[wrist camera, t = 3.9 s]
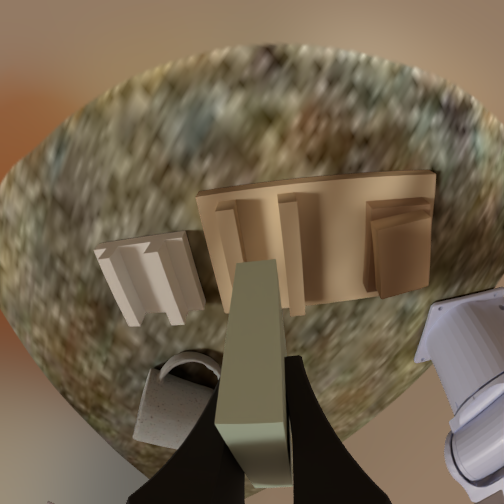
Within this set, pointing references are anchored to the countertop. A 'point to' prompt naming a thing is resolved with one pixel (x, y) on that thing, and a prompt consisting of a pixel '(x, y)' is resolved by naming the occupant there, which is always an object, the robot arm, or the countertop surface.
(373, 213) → the offcut low
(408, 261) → the offcut top
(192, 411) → the ceramic mug
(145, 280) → the stand
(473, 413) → the robot arm
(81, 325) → the countertop surface
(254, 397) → the pale green square slab
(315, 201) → the rack
